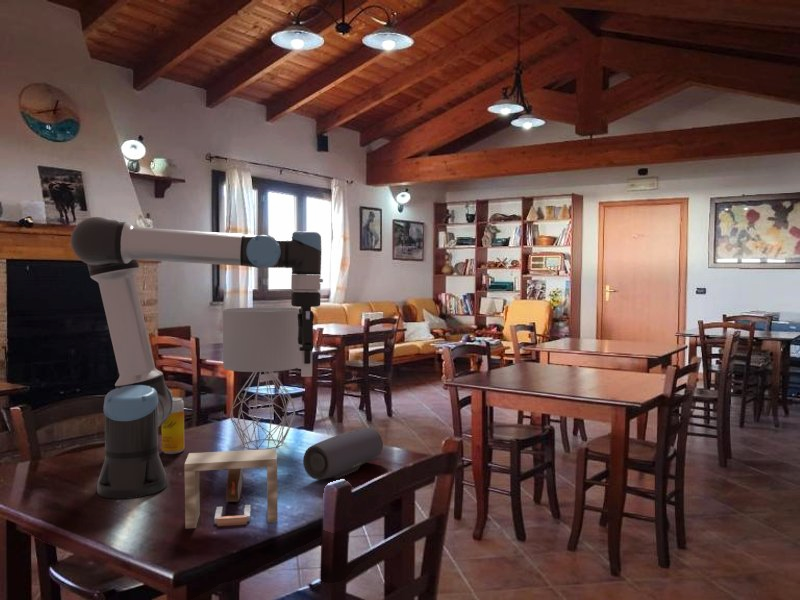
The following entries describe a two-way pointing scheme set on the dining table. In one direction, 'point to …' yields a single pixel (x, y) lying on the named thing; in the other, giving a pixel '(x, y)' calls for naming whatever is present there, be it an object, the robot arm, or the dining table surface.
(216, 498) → the dining table surface
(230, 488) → the tin
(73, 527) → the dining table surface
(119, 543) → the dining table surface
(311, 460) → the bluetooth speaker
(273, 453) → the overhang
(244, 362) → the table lamp
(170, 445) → the beer can
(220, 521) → the grey and orange bracket
